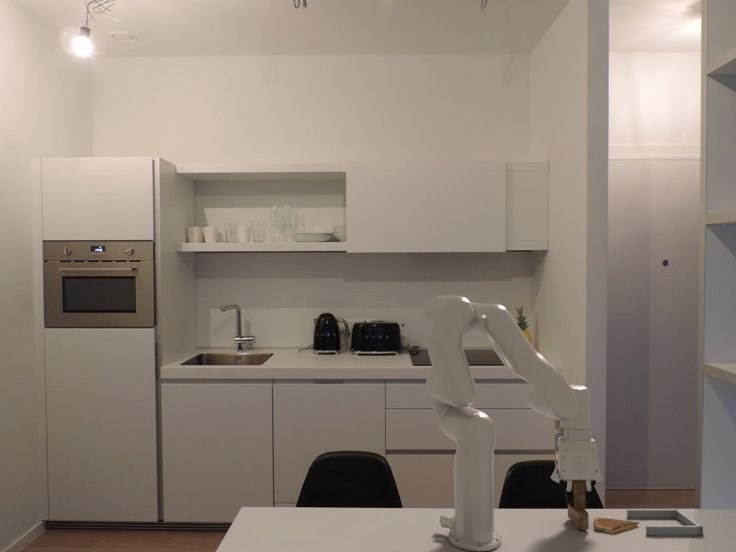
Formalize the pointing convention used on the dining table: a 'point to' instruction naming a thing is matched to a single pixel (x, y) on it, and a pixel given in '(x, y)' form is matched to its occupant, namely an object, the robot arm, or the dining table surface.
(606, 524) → the shard
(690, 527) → the frame
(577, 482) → the wooden step block
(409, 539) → the dining table surface
